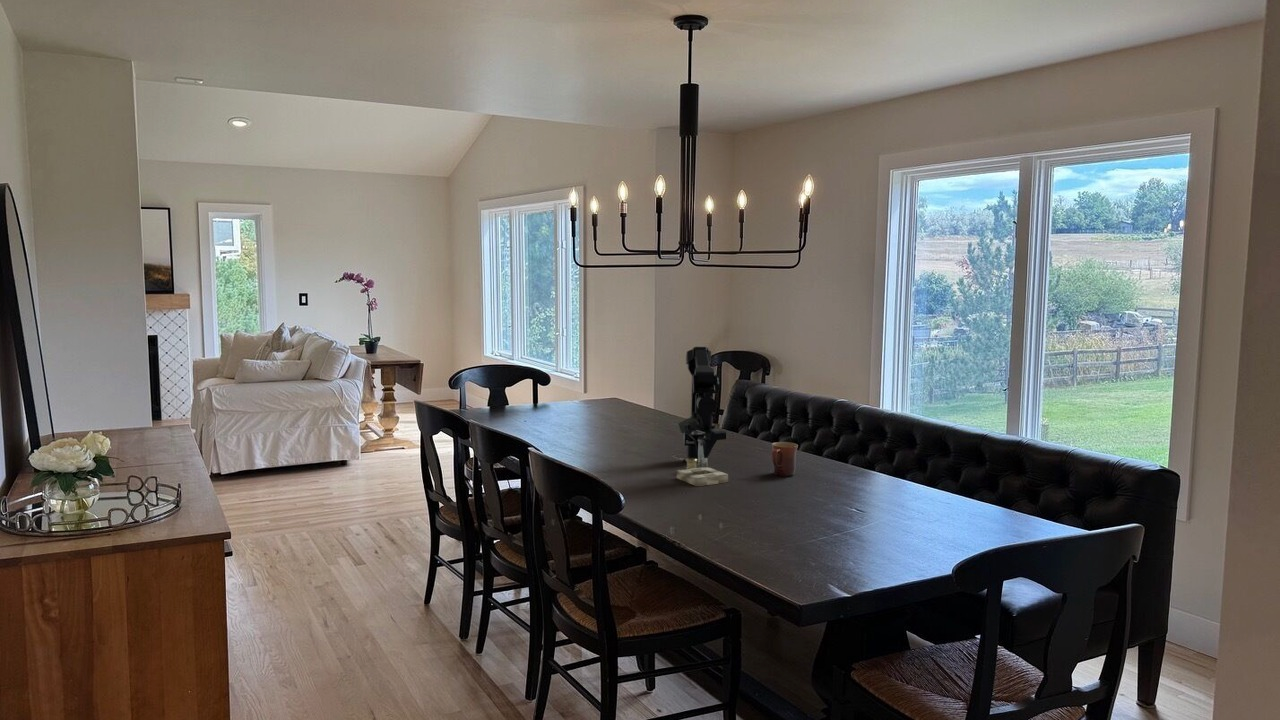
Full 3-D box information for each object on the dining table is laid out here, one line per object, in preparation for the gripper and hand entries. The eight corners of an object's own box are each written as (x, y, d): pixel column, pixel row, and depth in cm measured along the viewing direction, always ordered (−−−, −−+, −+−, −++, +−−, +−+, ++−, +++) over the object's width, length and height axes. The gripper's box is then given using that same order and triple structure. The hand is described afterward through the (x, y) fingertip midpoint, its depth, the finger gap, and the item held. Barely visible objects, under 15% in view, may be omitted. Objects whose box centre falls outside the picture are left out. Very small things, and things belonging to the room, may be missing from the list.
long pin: (694, 465, 285) (695, 438, 284) (704, 464, 287) (704, 437, 286) (701, 467, 282) (701, 440, 281) (710, 466, 284) (711, 439, 283)
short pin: (683, 471, 297) (683, 458, 296) (693, 470, 298) (693, 457, 298) (689, 474, 293) (690, 460, 293) (699, 472, 295) (699, 459, 295)
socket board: (676, 478, 287) (676, 470, 287) (707, 474, 293) (707, 466, 293) (696, 486, 277) (697, 477, 276) (727, 482, 283) (728, 474, 282)
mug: (778, 470, 301) (779, 441, 300) (801, 474, 296) (802, 444, 295) (761, 476, 291) (762, 446, 290) (784, 480, 286) (785, 449, 285)
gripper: (667, 406, 287) (666, 453, 288) (699, 415, 270) (697, 465, 272) (695, 404, 292) (694, 450, 294) (728, 413, 276) (727, 461, 278)
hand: (702, 456), depth 284 cm, fingers closed on long pin, 3 cm apart
